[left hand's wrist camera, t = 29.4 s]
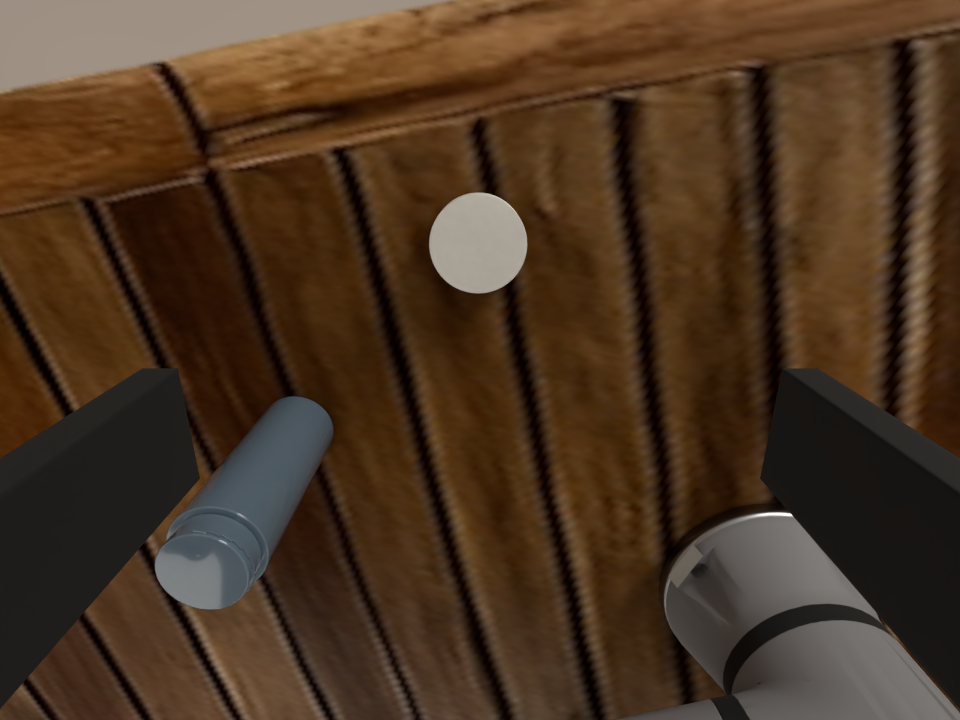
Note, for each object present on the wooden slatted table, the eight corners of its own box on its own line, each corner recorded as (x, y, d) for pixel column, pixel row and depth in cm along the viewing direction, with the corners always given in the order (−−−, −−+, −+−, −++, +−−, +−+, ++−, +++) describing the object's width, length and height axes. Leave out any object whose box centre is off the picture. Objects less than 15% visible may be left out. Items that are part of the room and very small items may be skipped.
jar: (333, 462, 43) (258, 619, 28) (263, 456, 42) (152, 611, 28) (334, 399, 41) (254, 533, 26) (261, 392, 41) (140, 523, 26)
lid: (429, 193, 36) (426, 195, 34) (525, 191, 36) (527, 193, 34) (433, 287, 38) (431, 294, 36) (524, 286, 38) (526, 292, 36)
